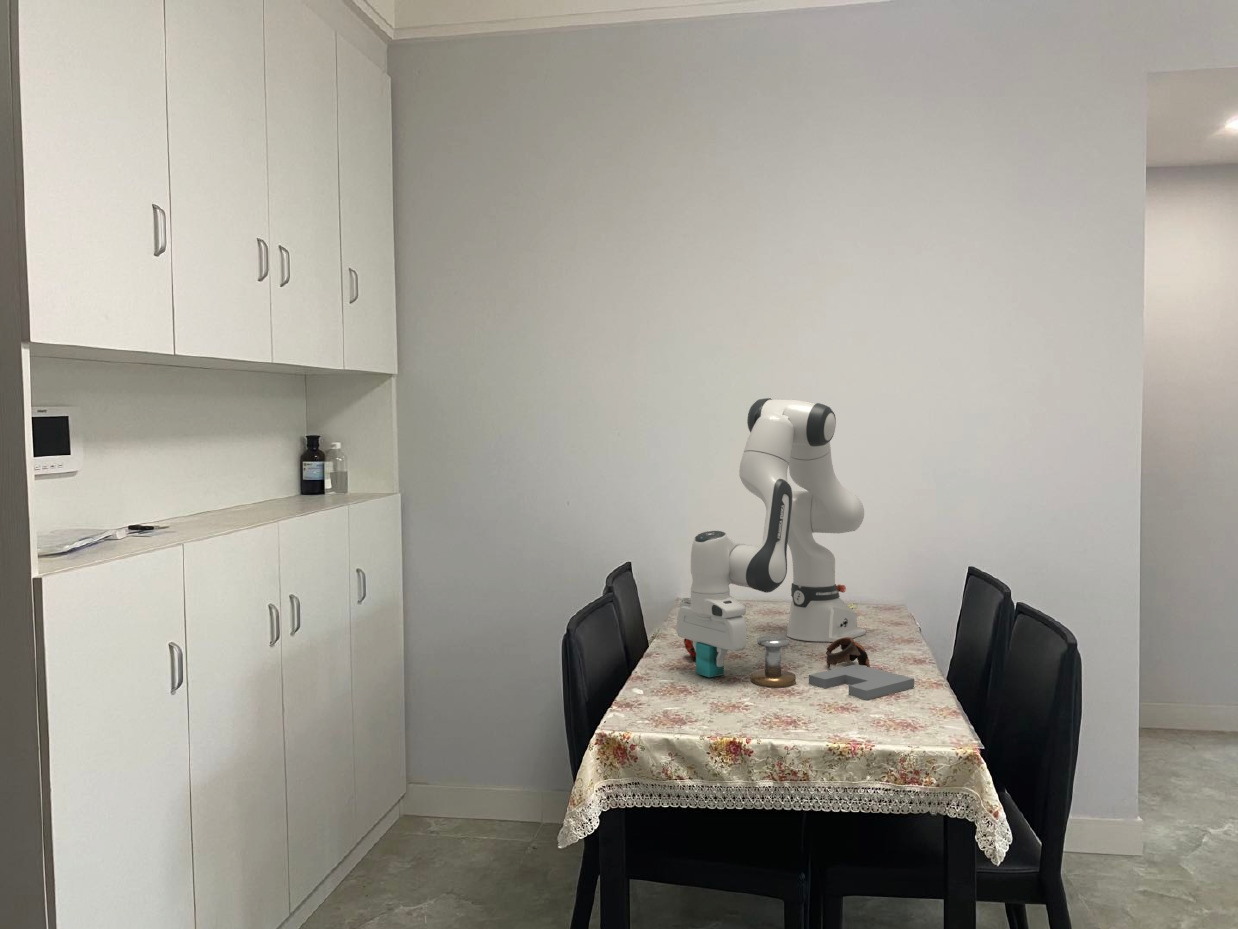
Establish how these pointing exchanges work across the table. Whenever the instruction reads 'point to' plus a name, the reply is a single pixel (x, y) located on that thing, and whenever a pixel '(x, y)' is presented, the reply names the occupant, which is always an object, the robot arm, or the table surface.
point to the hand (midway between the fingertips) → (710, 663)
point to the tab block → (707, 660)
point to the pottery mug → (846, 652)
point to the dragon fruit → (690, 648)
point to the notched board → (862, 681)
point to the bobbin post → (773, 665)
